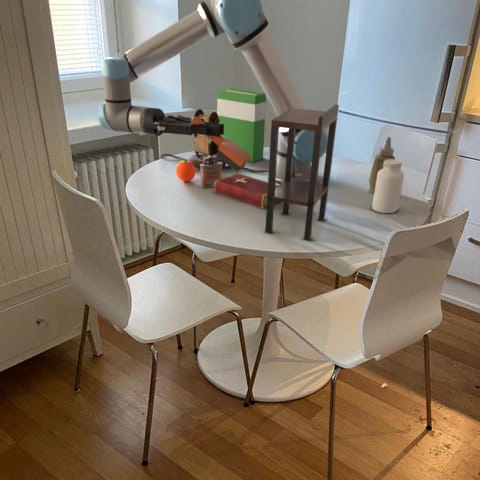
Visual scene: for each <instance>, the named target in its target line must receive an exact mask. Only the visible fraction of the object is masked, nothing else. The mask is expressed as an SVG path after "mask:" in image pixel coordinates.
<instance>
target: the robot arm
mask: <svg viewBox="0 0 480 480" xmlns="http://www.w3.org/2000/svg"><path fill="white" fill-rule="evenodd" d="M269 27H270V23H269V22H268V19H267V17H266V15H265V13H264V11H263V6H262V2H261V0H203V1H201V2H200V3H198V6H197V9H196V10H194V11H192V12H191V13H190V14H188V15H186V16H185V17H183V18H181V19H180V20H178V21H176V22H174V23H172V24H171V25H169V26H168V27H166V28H164V29H163V30H161V31H160V32H157V33H156V34H154V35H153V36H151V37H149V38H148V39H146V40H144V41H143V42H141V43H139V44H137V45H136V46H134V47H132V48H131V49H130V50H128V51H126V52H125V53H123V54H121V55H119V56H118V57H117V56H116V57H115V56H113V57H112V56H111V57H110V56H109V57H104V58H102V59H101V61H100V64H101V65H100V66H101V77H102V85H103V91H104V98H105V99H104V102H102V103H101V104H100V106H99V108H98V113H97V117H98V122H99V124H100V126H101V127H103V129H106V130H110V131H114V132H122V133H131V134H139V136H140V137H143V135H145V136H146V135H148V136H152V137H161V136H162V135H163V134H173V135H182V136H183V135H186V136H193V137H194V138H195V137H197V133H198V134H202V135H210V136H218V137H220V134H221V135H223V134H224V124H219V123H211V122H205V121H204V119H203V118H202V119H200V120H202V121H203V122H204V123H205V124H200V123H199V124H198V126H197V124H192V123H191V121H192V119H193V117H189V116H184V115H180V114H178V115H177V116H175V115H172V114H168V115H167V116H166V114H165V112H164V111H163V109H161V108H158V107H149V106H142V105H132V96H131V95H132V94H131V83H132V82H134V81H136V80H138V79H139V78H140V77H142V76H144V75H146V74H147V73H149V72H150V71H152V70H154V69H156V68H157V67H159V66H161V65H163V64H164V63H166V62H168V61H170V60H171V59H173V58H176V56H178V55H180V54H182V53H183V52H185V51H187V50H188V49H191V48H192V47H193V46H196V45H197V44H199V43H201V42H203V41H204V40H206V39H207V38H209V37H211V38H216V37H218V36H220V35H222V34H224V33H225V35H226V36H227V39H228V40H229V42H230V44H231V46H232V47H233V49H234V50H236V51H240V52H242V55H243V56H244V59H245V60H246V62H247V63H248V65H249V67H250V69H251V71H252V73H253V74H254V77H255V78H256V80H257V82H258V84H259V85H260V87H261V89H262V92H263V93H265V95H266V99H267V100H268V102H269V104H270V106H271V107H272V110H273V111H274V114H275V115H276V117H278V116H279V115H281V114H283V113H284V112H286V111H288V110H290V109H291V108H296V109H306V110H312V109H311V108H308V107H306V106H305V105H304V103H303V101H302V99H301V97H300V95H299V93H298V91H297V89H296V87H295V85H294V83H293V81H292V79H291V78H290V75H289V73H288V71H287V70H286V67H285V65H284V63H283V62H282V61H283V60H282V59H281V57H280V56H279V54H278V52H277V49H276V48H275V47H276V46H274V43H273V41H272V40H271V38H270V36H269V34H268V31H269ZM288 131H289V128H283V127H279V135H278V150H277V166H276V181H275V183H278V184H281V183H282V182H283V181H284V180H285V171H286V158H287V145H288ZM314 136H315V131H309V130H300V129H296V130H295V142H294V155H293V167H292V179H294V180H300V181H307V182H310V174H311V165H312V155H313V145H314ZM327 142H328V134H327V133H326V131H325V129H324V130H323V133H322V142H321V151H320V159H321V158H322V157H323V155H324V154H326V150H327ZM164 157H171V158H174V159H177V160H180V161H188V158H184V157H181V156H178V155H174V154H170V153H163V154H161V155H160V156H159V158H164ZM222 169H232V168H231V167H230V166H229V165H225V166H223V167H222ZM241 170H246V171H248V172H253V173H269V169H251V168H248V167H245V166H244V167H243V168H242V169H241Z"/></svg>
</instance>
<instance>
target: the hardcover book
mask: <svg viewBox="0 0 480 480" xmlns="http://www.w3.org/2000/svg"><path fill="white" fill-rule="evenodd" d="M279 185H280V184H277V183H275V188H277V187H278V186H279ZM213 189H214V193H216V194H217V195H220V196H224V197H227V198H230V199H232V200H233V199H234V200H236V201H239V202H242V203H245V204H249V205H252V206H254V207H257V208H261V209H267V193H268V181H266V180H262V179H259V178H255V177H252V176H248V175H245V174H241V173H236V174H235V173H234V174H232V175H229V176H226V177H222V179H219V180H216V181H215V183H214V187H213ZM278 203H279V202H276V201H274V205H276V204H278Z"/></svg>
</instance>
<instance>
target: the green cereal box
mask: <svg viewBox="0 0 480 480" xmlns="http://www.w3.org/2000/svg"><path fill="white" fill-rule="evenodd" d="M216 94H217V97H216V101H217V102H216V103H217V104H216V105H217V107H216V110H217V111H216V113H217V114H218V118H219V120H220V122H219V124H224V134H223V135H221V134H220V136H222V137H223V138H224V139H225V140H229V139H230V140H231V141H232V142H234V143H235V144H236V145H237V146H239V147H240V148H241V149H243V150H244V151H245V152H246V153H248V154H249V155H250V156H251V158H250V159H249V161H248V163H255V162H257V161H260V160H262V159H264V151H265V150H264V149H265V145H264V144H265V130H266V129H265V128H266V109H267V108H266V106H267V97H266V95H265V93H264V92H262V91H254V90H247V89H240V88H234V87H227V89H226V90H224V89H223V90H222V89H217V92H216ZM219 147H220V146H219ZM218 151H219V150H218Z"/></svg>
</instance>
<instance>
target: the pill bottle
mask: <svg viewBox="0 0 480 480" xmlns="http://www.w3.org/2000/svg"><path fill="white" fill-rule="evenodd" d="M402 165H403V162H402V161H401V160H400V159H396V158H395V159H387V160H385V161H384V164H383V169H381V170H380V171H379V172H378V174H377V180H376V186H375V192H374V193H373V197H372V204H371V207H372V208H371V209H372V210H373V211H375V212H377V213H381V214H394V213H396V212H397V211H398V208H399V204H400V198H401V194H402V190H403V189H402V188H403V183H404V179H405V174H404V171H402V170H401V169H402Z"/></svg>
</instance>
